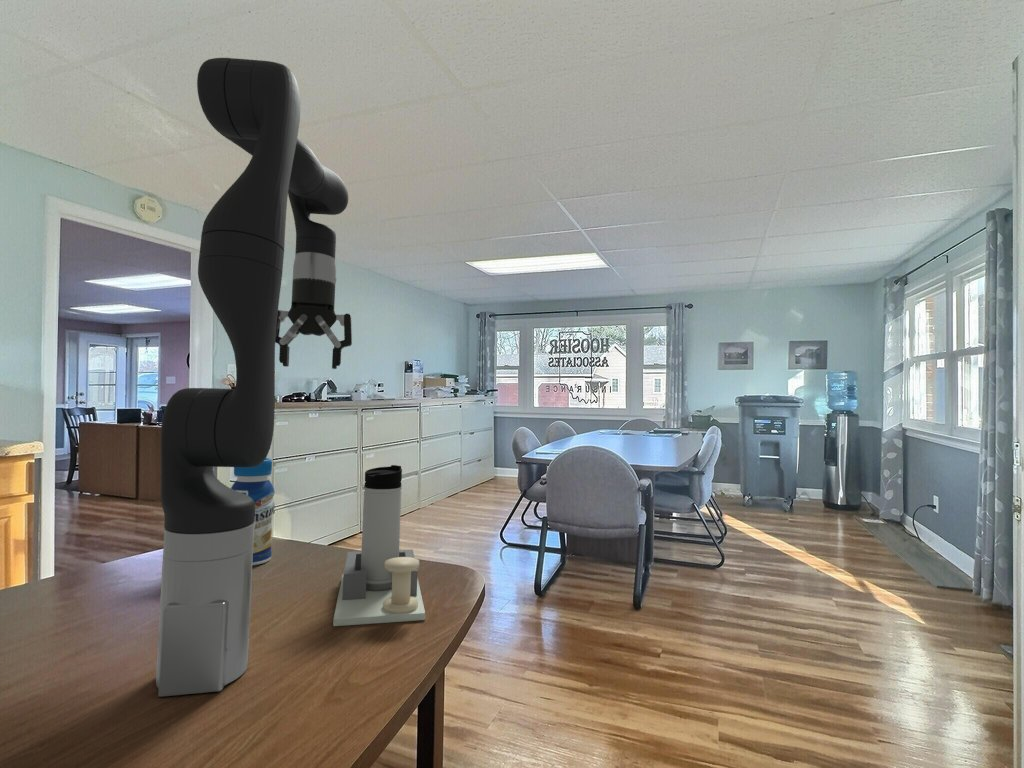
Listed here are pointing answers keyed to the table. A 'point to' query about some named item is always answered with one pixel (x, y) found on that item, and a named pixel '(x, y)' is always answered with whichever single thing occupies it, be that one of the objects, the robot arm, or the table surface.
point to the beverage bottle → (258, 505)
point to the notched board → (379, 593)
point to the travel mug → (381, 524)
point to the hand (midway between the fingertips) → (310, 367)
